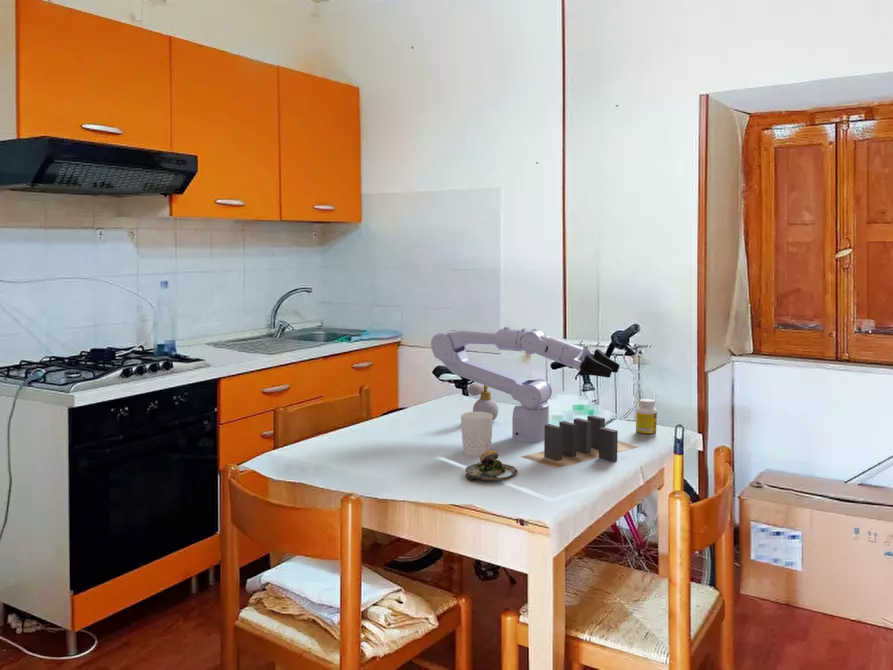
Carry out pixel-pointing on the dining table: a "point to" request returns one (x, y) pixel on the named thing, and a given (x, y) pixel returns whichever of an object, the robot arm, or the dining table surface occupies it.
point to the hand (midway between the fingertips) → (614, 371)
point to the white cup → (476, 432)
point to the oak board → (572, 460)
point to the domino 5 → (608, 444)
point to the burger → (488, 467)
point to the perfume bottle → (483, 400)
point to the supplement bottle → (646, 418)
